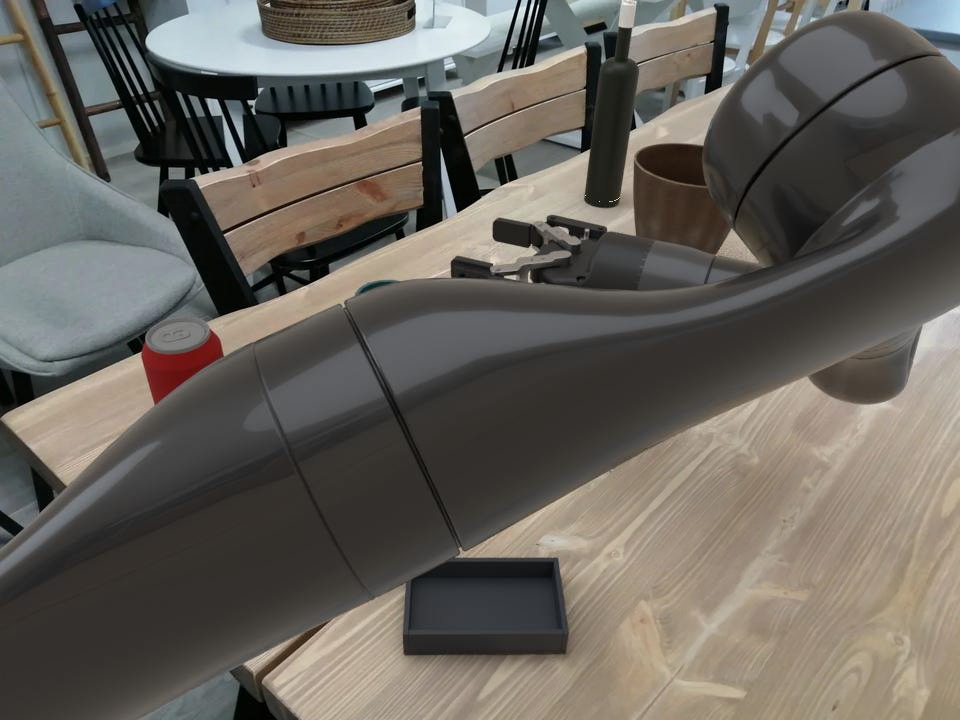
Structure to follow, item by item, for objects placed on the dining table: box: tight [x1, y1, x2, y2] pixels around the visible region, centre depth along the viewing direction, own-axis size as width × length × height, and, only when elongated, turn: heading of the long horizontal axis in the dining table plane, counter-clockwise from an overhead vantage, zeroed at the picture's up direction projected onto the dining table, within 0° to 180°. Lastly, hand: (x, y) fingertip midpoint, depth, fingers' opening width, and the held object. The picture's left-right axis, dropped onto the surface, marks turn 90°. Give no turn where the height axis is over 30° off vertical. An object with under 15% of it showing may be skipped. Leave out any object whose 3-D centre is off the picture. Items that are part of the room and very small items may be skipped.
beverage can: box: [140, 316, 225, 406], centre depth 68 cm, size 7×7×12 cm
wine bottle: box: [583, 0, 640, 208], centre depth 112 cm, size 6×6×30 cm
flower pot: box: [632, 142, 732, 256], centre depth 97 cm, size 15×15×16 cm
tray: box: [402, 557, 570, 656], centre depth 56 cm, size 12×7×2 cm, turn 92°
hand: (474, 247), depth 67 cm, fingers open, 8 cm apart
